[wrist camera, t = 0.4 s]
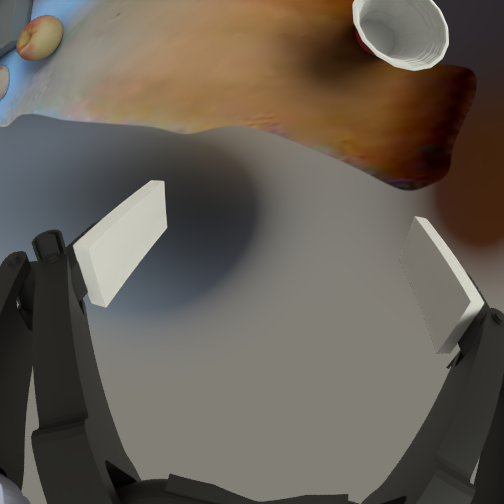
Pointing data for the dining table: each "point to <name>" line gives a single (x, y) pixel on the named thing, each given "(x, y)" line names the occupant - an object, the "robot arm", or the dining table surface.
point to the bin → (13, 22)
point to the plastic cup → (402, 31)
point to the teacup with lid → (3, 80)
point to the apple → (40, 38)
